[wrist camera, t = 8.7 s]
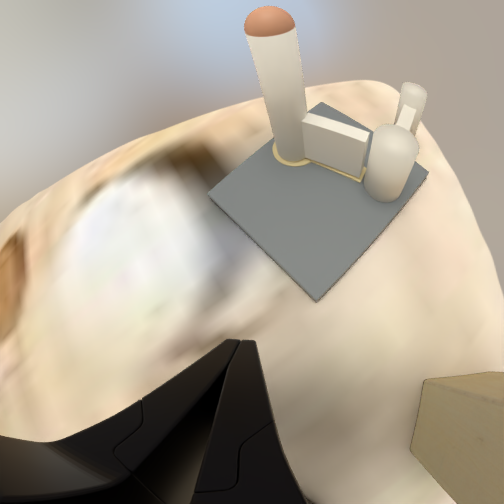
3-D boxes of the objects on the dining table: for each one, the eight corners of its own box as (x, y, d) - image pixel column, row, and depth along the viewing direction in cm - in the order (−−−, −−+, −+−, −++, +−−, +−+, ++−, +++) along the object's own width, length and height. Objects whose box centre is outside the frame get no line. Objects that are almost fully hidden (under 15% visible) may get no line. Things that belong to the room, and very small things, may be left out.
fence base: (391, 214, 22) (414, 164, 15) (356, 197, 23) (367, 142, 16) (417, 143, 23) (434, 92, 17) (388, 129, 25) (398, 76, 18)
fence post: (366, 160, 23) (383, 14, 9) (355, 186, 22) (373, 30, 9) (286, 133, 25) (255, 0, 12) (271, 155, 25) (228, 16, 11)
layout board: (316, 302, 21) (316, 300, 20) (210, 198, 26) (206, 192, 25) (426, 177, 22) (429, 171, 21) (321, 108, 28) (321, 100, 26)
